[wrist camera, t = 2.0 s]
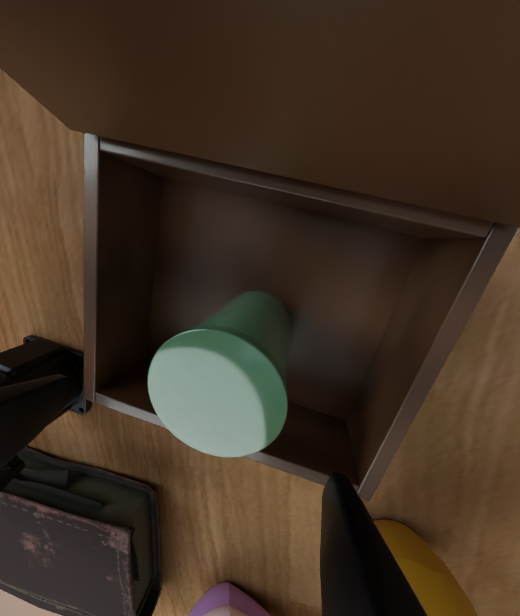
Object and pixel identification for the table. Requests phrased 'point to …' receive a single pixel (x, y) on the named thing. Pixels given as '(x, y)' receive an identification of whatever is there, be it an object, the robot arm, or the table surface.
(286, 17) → the lid
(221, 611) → the hot air balloon
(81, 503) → the diary
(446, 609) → the apple
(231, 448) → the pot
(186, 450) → the table surface
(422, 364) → the wooden box
